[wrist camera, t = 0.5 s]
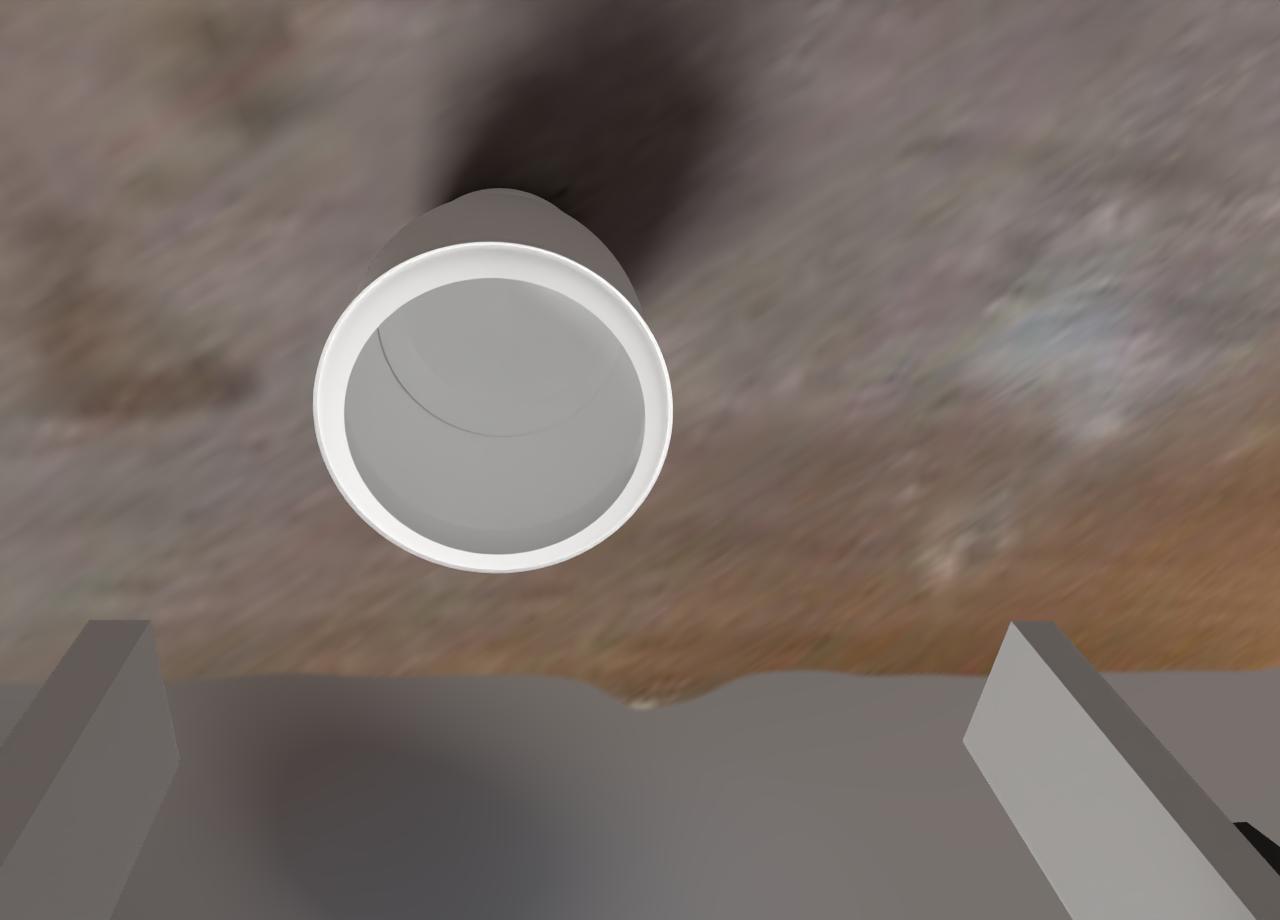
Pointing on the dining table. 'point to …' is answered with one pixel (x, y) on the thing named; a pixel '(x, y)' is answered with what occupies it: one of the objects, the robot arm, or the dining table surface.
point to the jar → (494, 388)
